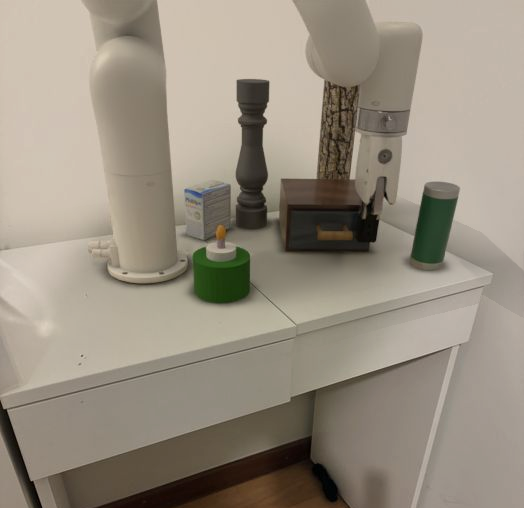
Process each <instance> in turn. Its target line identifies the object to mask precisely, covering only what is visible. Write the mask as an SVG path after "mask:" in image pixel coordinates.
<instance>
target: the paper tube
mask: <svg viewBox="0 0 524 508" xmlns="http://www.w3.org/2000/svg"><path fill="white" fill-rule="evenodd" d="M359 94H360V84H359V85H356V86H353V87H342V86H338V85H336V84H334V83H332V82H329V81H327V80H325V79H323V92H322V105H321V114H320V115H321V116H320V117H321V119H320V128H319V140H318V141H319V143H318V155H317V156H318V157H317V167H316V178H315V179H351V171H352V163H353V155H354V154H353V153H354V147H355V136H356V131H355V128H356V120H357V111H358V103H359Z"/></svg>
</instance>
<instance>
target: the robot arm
mask: <svg viewBox="0 0 524 508" xmlns="http://www.w3.org/2000/svg"><path fill="white" fill-rule="evenodd" d="M80 1H81V3H82V4H83V6H84V7H85V8H86V10H87V11H88V14H89V19H90V25H91V28H92V29H91V30H92V33H93V39H94V44H95V48H96V53H95V55H94V56H93V58H92V60H91V64H90V69H89V77H88V78H89V79H88V80H89V81H88V84H89V93H90V99H91V104H92V109H93V114H94V118H95V122H96V123H95V124H96V128H97V134H98V138H99V145H100V152H101V158H102V167H103V172H104V178H105V179H104V180H105V186H106V192H107V193H106V194H107V199H108V206H109V214H110V220H111V221H110V222H111V228H112V234H113V235H112V237H113V238H109V239H108V240H107V241H101V240H88V241H87V251H88V253H89V254H91V256H92V258H93V259H103V258H107V259H108V260H107V264H106V265H107V272H108V273H109V275H110V276H111V277H113V278H115V279H116V280H119V281H122V282H126V283H131V284H155V283H161V282H166V281H169V280H172V279H175V278H177V277H179V276H181V275H182V274H184V273H185V272H186V270H187V269H188V267H189V261H188V257H187V255H186V254H185V253H184V252H182V251H181V250H179V249H178V244H177V243H178V242H177V230H176V216H175V215H176V213H175V201H174V200H175V199H174V187H173V186H174V185H173V173H172V171H173V169H172V159H171V158H172V157H171V145H170V131H169V118H168V99H167V98H168V97H167V68H166V67H167V66H166V59H165V53H164V43H163V37H162V30H161V29H162V28H161V22H160V13H159V4H158V0H80ZM291 1H292V3H293V4H294V6H295V8H296V10H297V12H298V14H299V16H300V17H301V19H302V21H303V24H304V25H305V28H306V30H307V31H308V34H309V35H308V37H307V39H306V43H305V49H304V50H305V52H304V53H305V59H306V62H307V65H308V67H309V68H310V70H311V71H312V72H313V73H314V74H315V75H316V76H317V77H318V78H320V79H322V80H324V79H325V80H327V81H329V82H332V83H334V84H336V85H338V86H342V87H353V86H356V85H359V84H360V94H359V103H358V111H357V120H356V128H355V133H358V134H360V139H359V145H358V151H357V158H356V166H355V176H354V179H355V189H356V191H357V193H358V194H359V196H360V204H359V215H358V220H357V227H356V235H355V238H356V240H357V242H370V244H372V243H376V242H377V237H378V231H379V225H380V217H381V216H382V214H383V204H384V199H385V200H386V202H387V203H388V204H389V206H393V205H395V204H396V202H397V198H398V197H397V196H398V189H399V182H400V180H399V179H400V174H401V173H400V172H401V163H402V153H403V137H404V136H406V135H407V133H408V127H409V121H410V115H411V109H412V103H413V96H414V92H415V85H416V79H417V73H418V68H419V62H420V57H421V56H420V55H421V50H422V45H423V35H424V34H423V29H422V27H421V26H420V25H419V24H417V23H414V22H406V21H377V22H375V21H374V19H373V16H372V13H371V10H370V7H369V5H368V3H367V0H291Z"/></svg>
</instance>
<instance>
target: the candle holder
mask: <svg viewBox="0 0 524 508" xmlns="http://www.w3.org/2000/svg"><path fill="white" fill-rule="evenodd" d="M236 102H237V107H238V109H239V111H240V114H241V115H240V116H239V117H238V118H237V124H239V125H240V128H241V145H240V150H239V154H238V155H239V156H238V159H237V164H236V169H235V180H236V182H237V184H238V185H239V186H240V187H239V190H240V191H241V192H239V194H238V196H237V197H236V202H237V204H236V205H235V225H236V226H237V227H238V228H240V229H241V228H242V229H247V230H257V229H263V228H265V227H266V226H267V225H268V205H266V202H267V197H266V196H265V195H264V193H263V191H264V186H265V185H266V183H267V181H268V179H269V172H268V166H267V162H266V155H265V150H264V128H265V126H266V125H267V124H268V119H267V118H266V117H265V116H264V114H265V113H266V110H267V108H268V103H269V102H270V80H268V79H261V78H260V79H259V78H241V79H240V78H239V79H236Z"/></svg>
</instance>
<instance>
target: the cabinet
mask: <svg viewBox="0 0 524 508" xmlns="http://www.w3.org/2000/svg"><path fill="white" fill-rule="evenodd" d="M279 187H280V188H279V206H278V207H279V209H278V210H279V211H278V222H279V227H280V232H281V237H282V242H283V247H284V248H283V249H284V251H285V252H336V253H337V252H339V253H340V252H346V253H347V252H350V253H354V252H355V253H360V252H361V253H362V252H363V253H365V252H366V253H369V252H370V247H371V242H369V243H368V249H289V234H290V216H291V210H292V209H300V210H359V204H360V196H359V194H358V193H357V191H356V189H355V178H354V179H352V178H350V179H316V178H280V185H279Z"/></svg>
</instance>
